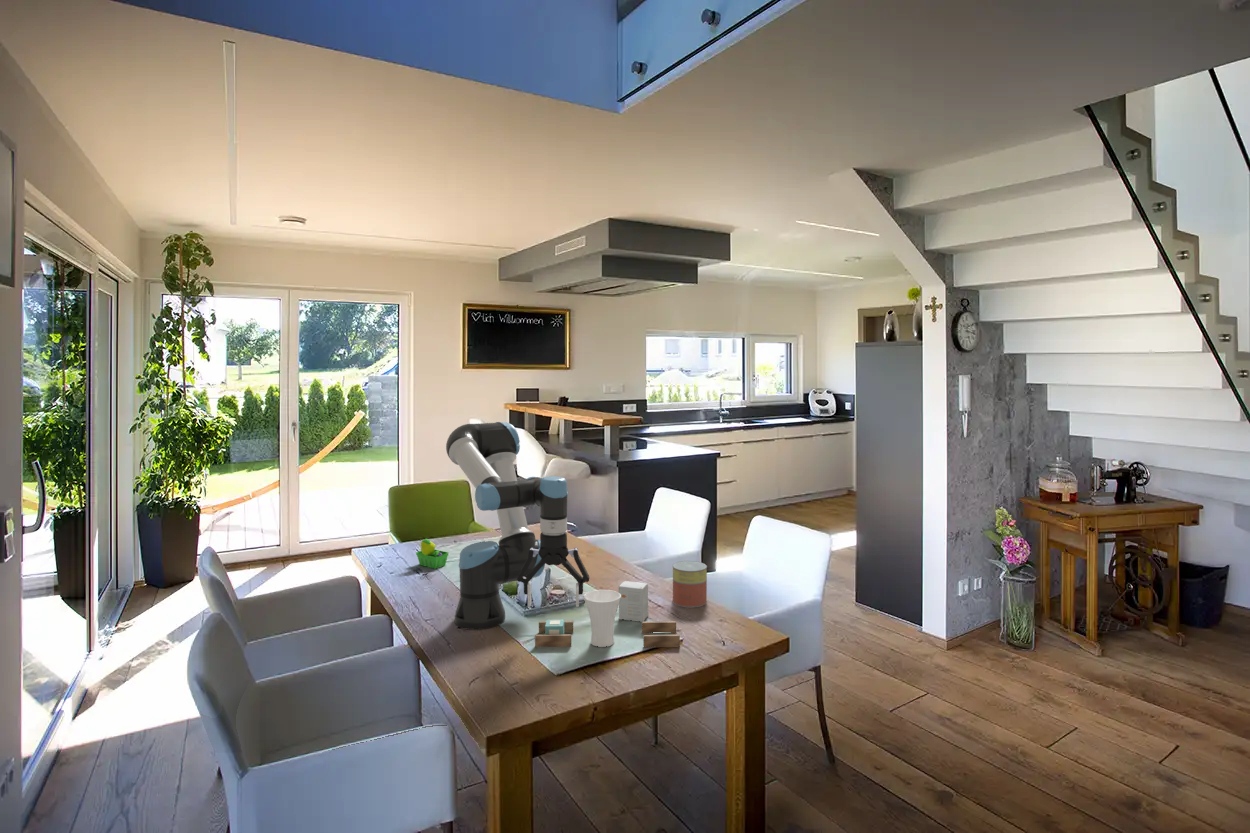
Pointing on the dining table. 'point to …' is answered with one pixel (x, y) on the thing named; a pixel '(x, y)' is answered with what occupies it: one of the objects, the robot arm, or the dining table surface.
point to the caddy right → (660, 639)
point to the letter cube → (554, 627)
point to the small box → (633, 601)
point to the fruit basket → (431, 555)
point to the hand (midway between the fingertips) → (553, 605)
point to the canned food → (689, 584)
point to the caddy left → (554, 636)
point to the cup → (602, 615)
